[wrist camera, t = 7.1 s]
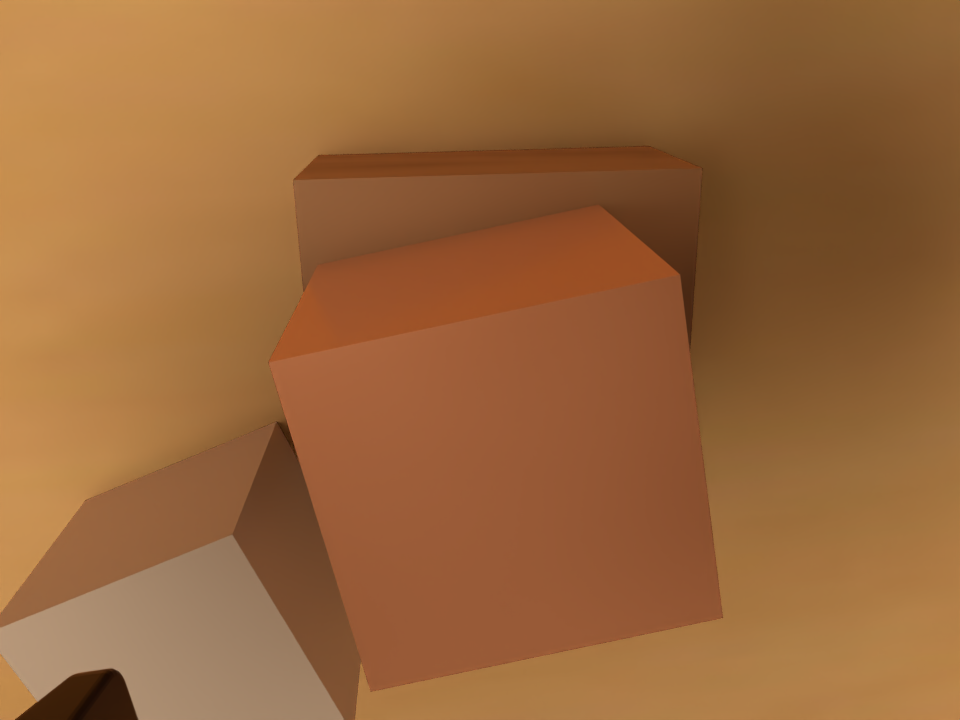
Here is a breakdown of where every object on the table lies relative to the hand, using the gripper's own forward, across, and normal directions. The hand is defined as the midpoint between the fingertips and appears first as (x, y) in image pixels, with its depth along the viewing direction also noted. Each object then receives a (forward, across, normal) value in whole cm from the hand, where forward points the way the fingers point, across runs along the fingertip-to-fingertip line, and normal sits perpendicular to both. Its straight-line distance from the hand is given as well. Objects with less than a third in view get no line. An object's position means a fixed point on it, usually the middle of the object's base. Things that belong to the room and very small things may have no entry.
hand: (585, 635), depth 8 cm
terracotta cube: (+8, 0, 0) cm, 8 cm away
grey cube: (+12, +7, +5) cm, 15 cm away
